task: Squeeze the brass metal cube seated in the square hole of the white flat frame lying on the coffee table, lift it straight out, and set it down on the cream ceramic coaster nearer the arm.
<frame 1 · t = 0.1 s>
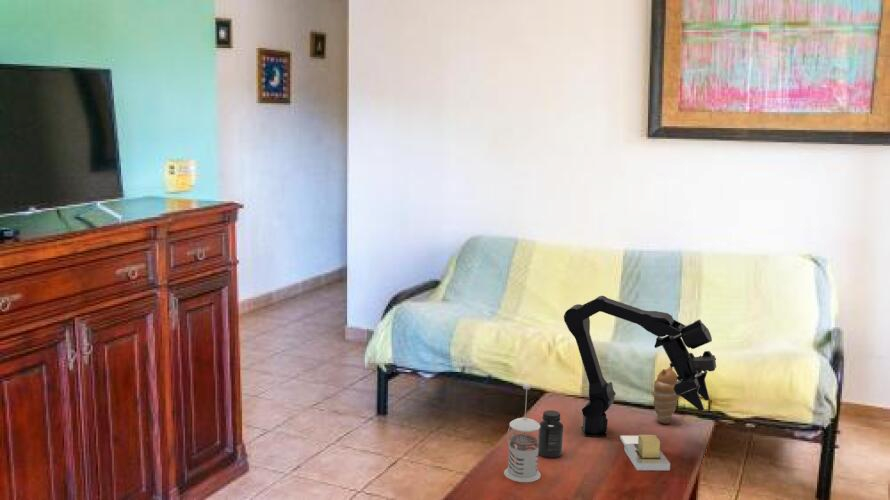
hand: (705, 404, 233), 15 cm above the table, tool tilted 30°, fingers open, 9 cm apart
white flat frame: (646, 460, 231), on the table
french press: (520, 473, 221), on the table
brass metal cube: (647, 461, 230), resting in white flat frame
supplement bottle: (549, 454, 233), on the table
coaster: (637, 443, 242), on the table
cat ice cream: (663, 423, 258), on the table
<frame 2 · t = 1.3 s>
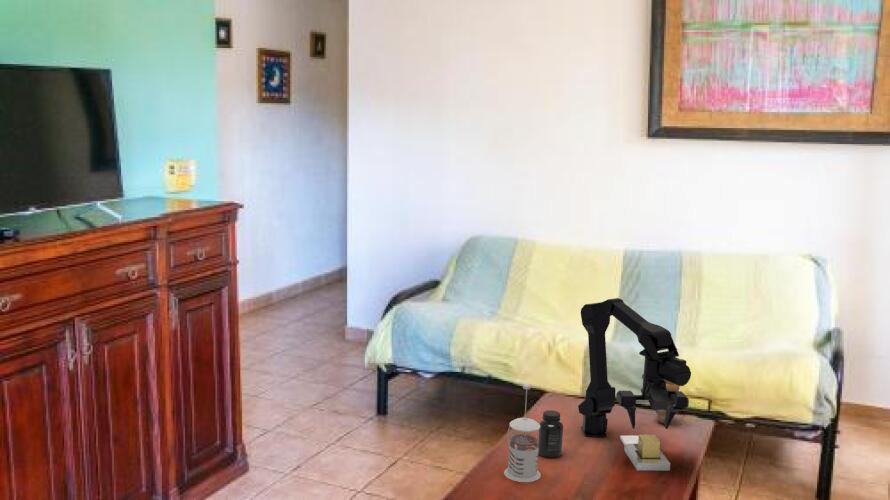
hand: (649, 428, 228), 10 cm above the table, tool pointing down, fingers open, 9 cm apart
nothing on the table moved.
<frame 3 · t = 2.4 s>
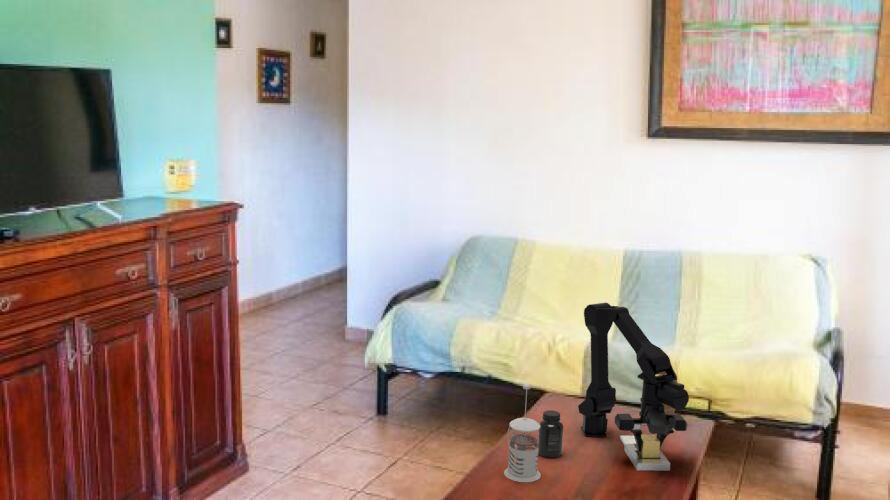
hand: (648, 451, 229), 3 cm above the table, tool pointing down, fingers closed on brass metal cube, 5 cm apart
brass metal cube: (647, 461, 230), resting in white flat frame, touching gripper
everything else where it was.
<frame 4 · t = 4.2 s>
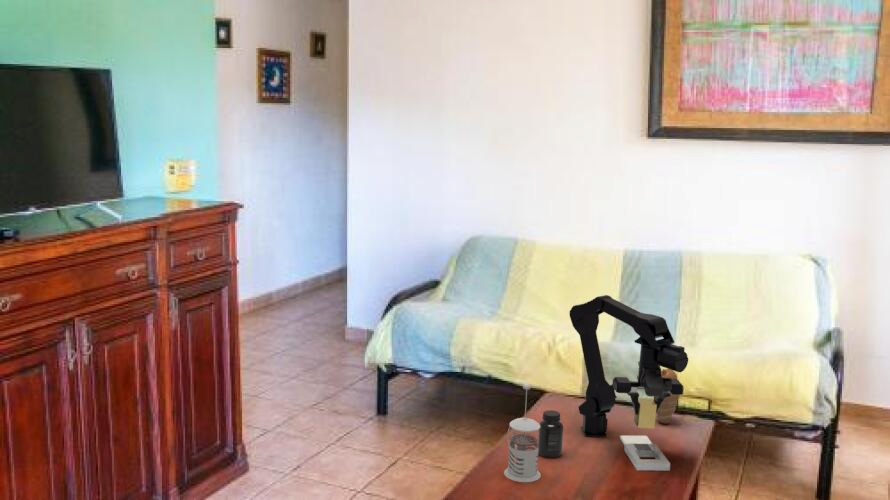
hand: (644, 414, 233), 12 cm above the table, tool pointing down, fingers closed on brass metal cube, 5 cm apart
brass metal cube: (644, 424, 234), point 9 cm above the table, touching gripper
everything else where it was.
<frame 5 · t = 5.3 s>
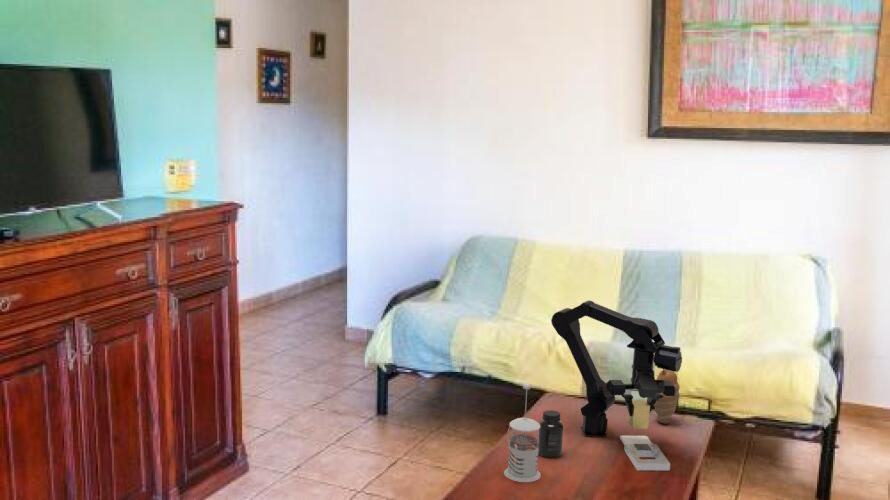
hand: (638, 415, 240), 9 cm above the table, tool pointing down, fingers closed on brass metal cube, 5 cm apart
brass metal cube: (638, 425, 241), point 6 cm above the table, touching gripper
everything else where it was.
when the fingers open (5 cm above the table, at t = 6.3 s): brass metal cube drops 1 cm, resting on coaster.
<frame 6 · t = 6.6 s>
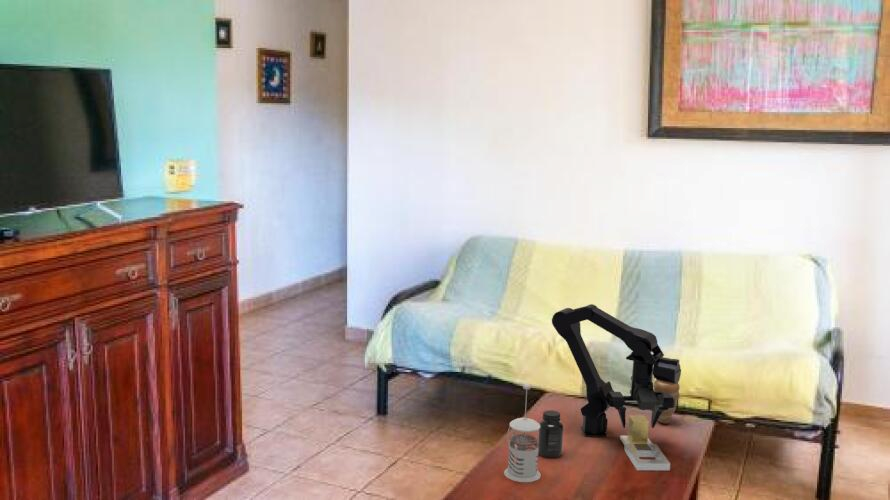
hand: (638, 427, 241), 5 cm above the table, tool pointing down, fingers open, 8 cm apart
brass metal cube: (637, 441, 242), point 1 cm above the table, touching coaster
everything else where it was.
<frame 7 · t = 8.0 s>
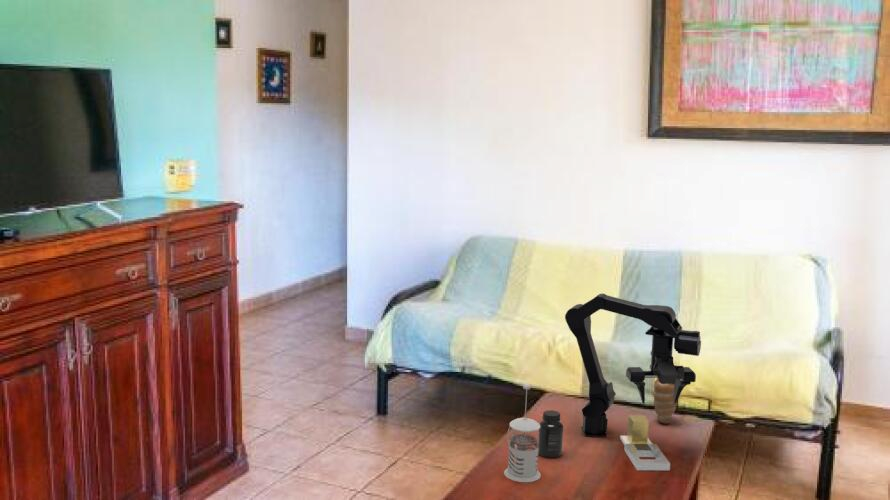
hand: (659, 403, 239), 13 cm above the table, tool pointing down, fingers open, 9 cm apart
nothing on the table moved.
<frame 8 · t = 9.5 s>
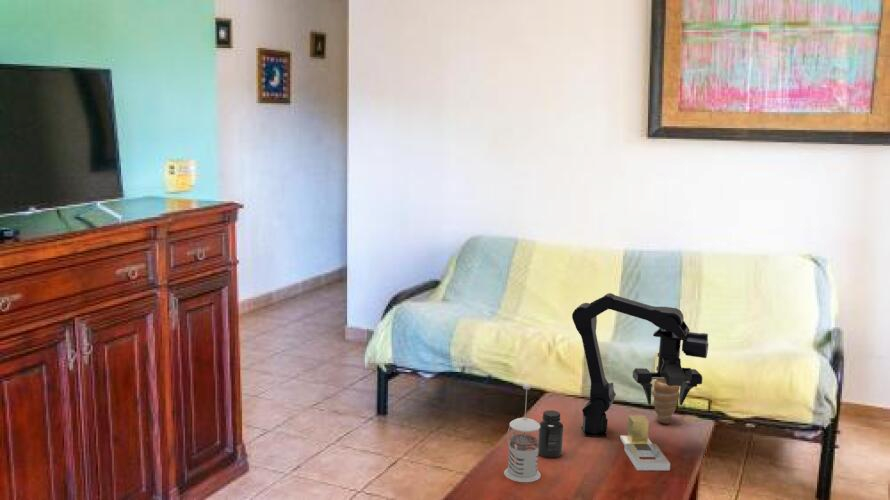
hand: (664, 404, 239), 12 cm above the table, tool pointing down, fingers open, 9 cm apart
nothing on the table moved.
at the end: brass metal cube inside the target area on the coaster (0.0 cm from its centre), point 0.8 cm above the coaster's base; brass metal cube moved 12.1 cm from its start; the gripper is holding nothing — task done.
